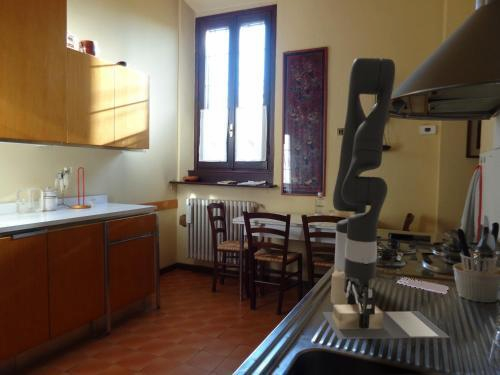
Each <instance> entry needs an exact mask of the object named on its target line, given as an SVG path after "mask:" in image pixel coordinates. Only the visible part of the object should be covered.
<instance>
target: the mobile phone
mask: <svg viewBox="0 0 500 375" xmlns="http://www.w3.org/2000/svg"><path fill="white" fill-rule="evenodd" d="M401 277H402V278H401ZM401 277H400V278H401V279H400V278H399V279H400V280H399V279H398V280H397V282H396V284H397V283H399V284H398V285H400V284H403V285H402V286H405V285H407V286H406V287H409V286H411V287H410V288H414V287H416V288H415V289H419V288H421V289H420V290H423V289H424V291H427V292H433V293H437V294H441V293H442V295H446V294H447V293H448V291H449V289H450V288H449V286H447V285H444V284H439V283H435V282H429V281H424V280H420V281H418V280H419V279H415V281H414V280H413V279H414V278H411V279H412V280H411V279H410V278H409V277H405V276H401ZM403 277H404V278H403ZM407 279H408V280H407ZM421 281H422V282H421ZM447 290H448V291H447Z"/></svg>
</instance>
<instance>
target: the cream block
mask: <svg viewBox="0 0 500 375" xmlns="http://www.w3.org/2000/svg"><path fill="white" fill-rule="evenodd" d="M362 306H363V304H362ZM370 306H371V305H370ZM332 312H333V321H334V323H335V324H336V326H337V327H338V329H361V328H360V327H359V314H360V310H359V305H358V304H356V305H334V304H332ZM382 327H383V312H382V310H381V308H379V307H378V306H377V305H376V304H375V314H374V315H370V317H369V328H367V329H382Z"/></svg>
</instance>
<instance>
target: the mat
mask: <svg viewBox="0 0 500 375" xmlns="http://www.w3.org/2000/svg"><path fill="white" fill-rule="evenodd" d="M381 311H382V310H381ZM382 312H383V327H382V329H338V327H337V326H336V324H335V323H334V321H333V311H322V312H321V313H322V314H323V316H324V317H325V320H326V321H327V323H328V325H329V326H330V328H331V329H332V331H333V332H334V334H335V337H336V338H337V339H338V340H357V339H359V340H360V339H361V340H365V339H366V340H367V339H369V340H370V339H372V340H373V339H379V340H381V339H382V340H383V339H450V338H451V336H449V335H448V334H447V333H445V331H444V330H442V329H440V328H439V327H438V326H437V325H436V324H435V323H434V322H432V321H431V320H430V319H428V318H427V317H426V316H425V315H424V314H422V313H421V312H420V311H418V310H417V311H416V310H412V311H411V310H410V311H409V310H408V311H406V310H405V311H404V310H401V311H395V310H394V311H390V310H389V311H388V310H387V311H382Z"/></svg>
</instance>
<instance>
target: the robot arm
mask: <svg viewBox="0 0 500 375" xmlns="http://www.w3.org/2000/svg"><path fill="white" fill-rule="evenodd" d="M350 68H351V69H350V73H349V83H348V96H347V107H346V116H345V121H344V122H345V123H344V126H343V133H342V138H341V145H340V154H339V165H338V171H337V175H336V180H335V185H334V189H333V193H332V196H333V197H332V205H333V208H334V210H336V211H339V212H347V213H348V212H350V213H351V212H352V213H353V214H351V215H349V216H348V217H347V218H345V219H342V220H339V221H338V222H337V223H336V228H335V246H334V247H335V250H334V268H333V269H334V270H333V271H334V272H335V271H336V270H337V269H340V270H344V273H345V284H344V292H345V293H346V297H347V305H359V310H360V314H359V327H360V328H361V329H367V328H369V317H370V315H374V314H375V305H376V289H375V288H371V287H370V281H371V280H373V279H375V278H376V275H377V258H378V257H377V256H378V246H377V245H378V244H377V243H378V242H377V240H378V239H377V237H378V224H379V217H380V214H381V212H382V211H381V210H382V209H383V205H384V203H385V200H386V197H387V194H388V184H387V182H386V181H385V179H384V178H383V177H379V176H361V174H362V173H363V172H367V171H373V170H376V169H379V168H380V167H381V164H382V158H383V147H384V137H385V136H384V135H385V129H386V126H387V125H386V124H387V120H388V116H389V111H390V106H391V101H392V96H393V90H394V84H395V78H396V77H395V76H396V64H395V62H394V60H393V59H391V58H382V57H381V58H380V57H379V58H378V57H375V58H374V57H357V58H355V59H354V61H353V62H352V65H351V67H350ZM360 95H372V96H373V95H374V96H378V99H377V102H376V104H375V106H374V107H373V109H372V110H371V112H370V113H369V114H368V116H366V113H365V112H364V108H363V106H362V104H361V103H362V102H361V98H360ZM367 206H369V207H370V208H369V210H368V211H367ZM334 272H333V273H334ZM362 305H363V306H362ZM370 305H371V306H370Z"/></svg>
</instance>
